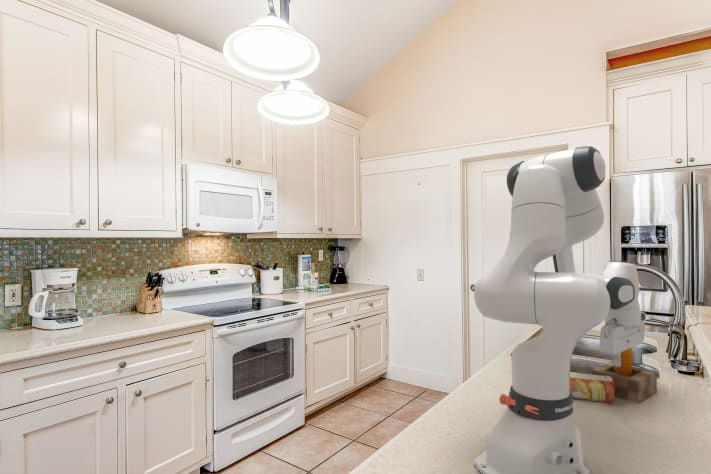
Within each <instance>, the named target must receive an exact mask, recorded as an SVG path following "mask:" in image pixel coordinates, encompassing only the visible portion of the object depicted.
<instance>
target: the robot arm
mask: <svg viewBox="0 0 711 474" xmlns="http://www.w3.org/2000/svg"><path fill="white" fill-rule="evenodd" d="M605 177H606V162H605V160H604V158H603V156H602V154H601V152H600V151H599V150H598V149H597V148H595V147H593V146H590V145H589V146H588V145H587V146H577V147H575V148H573V149H566V150H561V151H557V152H551V153H545V154H542V155H539V156H536V157H534V158H533V157H532V158H531V159H529V160H528V159H527V160H522V161H520V162H518V163H516V164H514V165H512V166H511V167H510V169H509V170H508V172H507V174H506V187H507V190H508V192H509V195H510V196H511V197H512V198H511V211H510V213H511V214H510V231H509V240H508V244H507V247H506V250H505V253H504V254H503V256H502V257H501V259H500V260H499V261H498V263H497V264H496V265H495V266H494V267H493V268H492V269H491V270H489V271H488V272H486V273H485V274H484V275H482V276H481V277H480V278H479V280H478V281H477V283H476V285H475V288H474V293H473V297H474V298H473V299H474V303H475V306H476V308H477V310H478V311H479V313H480V314H481V315H482V316H483V317H485V318H488V319H492V320H495V321H498V322H502V323H503V322H504V323H511V324H512V323H514V324H526V325H537V326H539V327H541V328H542V332H541V333H540V334H539V335H537V336H535V337H533V338H529V339H527V340H525V341H523V342H521V343H518V345H516V346H515V347H514V349H513V350H512V353H511V384H512V385H510V388H509V392H508V395H507V394H505V393H501V394H500V395H499V396H500V397H499V399H498V400H499V404H501V405H506V406H507V407H506V409H505V410H504V412H503V414H502V415H501V416H500V418H499V419H498V420H497V422H496V423H495V424H494V426H493V428H492V429H491V431H490V432H489V433H488V436H487V438H486V439H487V441H486V449H485V450H484V451H483V452H482V453H480V454H479V455H478V456H477V457H476V458H475V459H474V463H475V464H474V467H475V466H476V467H477V468H478V469H477V468H476V467H475V468H476V469H477V471H478V470H479V471H480V472H481V473H480V472H479V471H478V472H479V473H480V474H482V473H483V474H590V469H588V467H587V466H586V465H585V464H584V457H583V451H582V441H581V440H582V439H581V433H580V430H579V428H578V426H577V424H576V423H575V420H574V418H573V413H574V398H572V393H571V392H570V373H571V361H572V356H573V353H574V350H575V348H576V346H577V344H578V342H579V341H580V340H581V339H582V337H584V335H586V333H588V332H589V331H590V330H592V329H594V328H595V327H597V326H599V325H600V324H602V323H603V322H605V323H604V325H603V326H602V327H601V328H600V332H599V347H598V348H599V351H600V353H601V354H604V355H608V356H611V358H612V362H614V366H616V367H621V366H622V365H623V364H622V363H623V360H621V357H620V355H621V352H623V351H625V350H627V349H631V350H632V351H633V352H634V350H635V347H637V346H639V345H641V344H643V343H644V340H645V331H646V330H645V325H646V324H645V321H646V320H647V313H645V312H643V311H642V310H640V309H641V306H640V304H639V295H640V281H639V275H638V270H637V266H636V264H635V263H633V262H629V261H621V260H607V261H606V262H604V266H603V271H602V272H600V273H599V274H598V273H597V274H596V273H595V274H594V273H585V272H584V273H582V272H580V271H578V269H576V268H575V267H576V266H575V261H574V260H575V259H574V254H573V246H575V245H577V244H580V243H583V242H584V241H587V240H588V239H590V238H592V237H593V236H595V235H596V234H597V233H598V232H599V231H600V230H601V229H602V228H603V225H604V222H605V214H604V213H605V212H604V209H603V207H602V203H601V200H600V197H599V193H598V191H597V188H599V187H600V186H601V185H602V184H603V182H605V181H604V180H605ZM551 257H552V261H553V268H554V272H553V271H550V272H549V271H545V272H544V271H543V272H542V271H535V269H536V267H537V266H538V264H540V262H542V261H544V260H546V259H549V258H551ZM628 340H629V341H630V342H628Z"/></svg>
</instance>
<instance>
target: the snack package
mask: <svg viewBox="0 0 711 474" xmlns="http://www.w3.org/2000/svg"><path fill="white" fill-rule="evenodd" d="M570 392H571V393H572V399H582V400H587V401H594V402H601V403H606V404H613V403H614V402H615V398H616V397H615V385H614V382H613V379H612V377H610V376H601V375H592V374H587V373H576V372H570Z"/></svg>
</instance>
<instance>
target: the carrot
mask: <svg viewBox="0 0 711 474" xmlns="http://www.w3.org/2000/svg"><path fill="white" fill-rule="evenodd" d="M628 342H630V341H629V340H628ZM620 357H621V360H623V363H622V364H623V365H622V366H621V367H616V366H614V369H615V373H619V374H623V375H627V376H631V372H632V367H633V366H634V365H633V362H634V351H632V350H631V349H627V350H625V351H623V352H621V355H620ZM612 362H613V361H612ZM613 365H614V362H613Z"/></svg>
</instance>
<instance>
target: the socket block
mask: <svg viewBox="0 0 711 474" xmlns="http://www.w3.org/2000/svg"><path fill="white" fill-rule="evenodd" d="M591 375H601V376H610V377H612V379H613V382H614V385H615V398H618V399H621V400H625V401H628V402H633V403H635V404H640V403H642V402H644V401H645V400H648V398H649V399H650V397H652V396H654V395H655V394H657V393H658V387H657V385H658V381H657V371H655V370H651V369H647V368H642V367H637V366H634V365H633V367H632V372H631V376H627V375H623V374H619V373H615V369H614V365H613V361H609V362H606V363H604V364H602V365H600V366H597V367H595V368H593V369H591Z"/></svg>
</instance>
